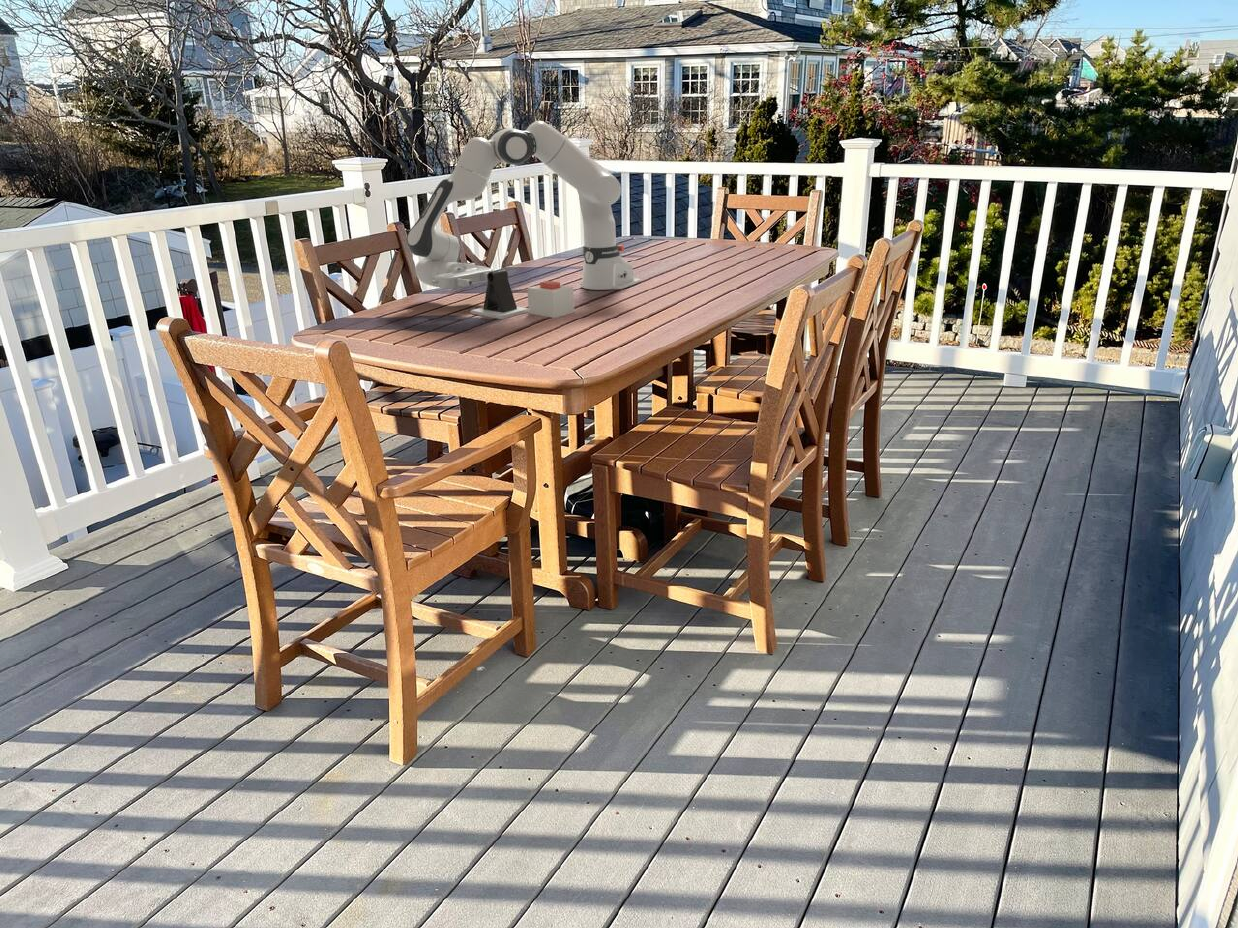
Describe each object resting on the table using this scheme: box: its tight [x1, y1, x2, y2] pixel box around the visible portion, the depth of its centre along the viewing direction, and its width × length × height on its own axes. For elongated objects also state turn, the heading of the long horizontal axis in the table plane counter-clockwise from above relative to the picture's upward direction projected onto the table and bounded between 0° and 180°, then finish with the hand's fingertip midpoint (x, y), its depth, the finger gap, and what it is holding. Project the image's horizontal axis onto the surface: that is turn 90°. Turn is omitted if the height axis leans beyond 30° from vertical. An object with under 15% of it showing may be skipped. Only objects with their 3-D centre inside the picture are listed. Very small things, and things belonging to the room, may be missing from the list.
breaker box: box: [527, 284, 575, 319], centre depth 279 cm, size 9×11×8 cm
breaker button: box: [539, 280, 561, 290], centre depth 278 cm, size 4×5×3 cm
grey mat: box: [470, 306, 529, 320], centre depth 283 cm, size 12×14×1 cm
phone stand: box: [482, 268, 518, 313], centre depth 280 cm, size 9×6×12 cm, turn 52°
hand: (481, 280), depth 284 cm, fingers open, 8 cm apart
